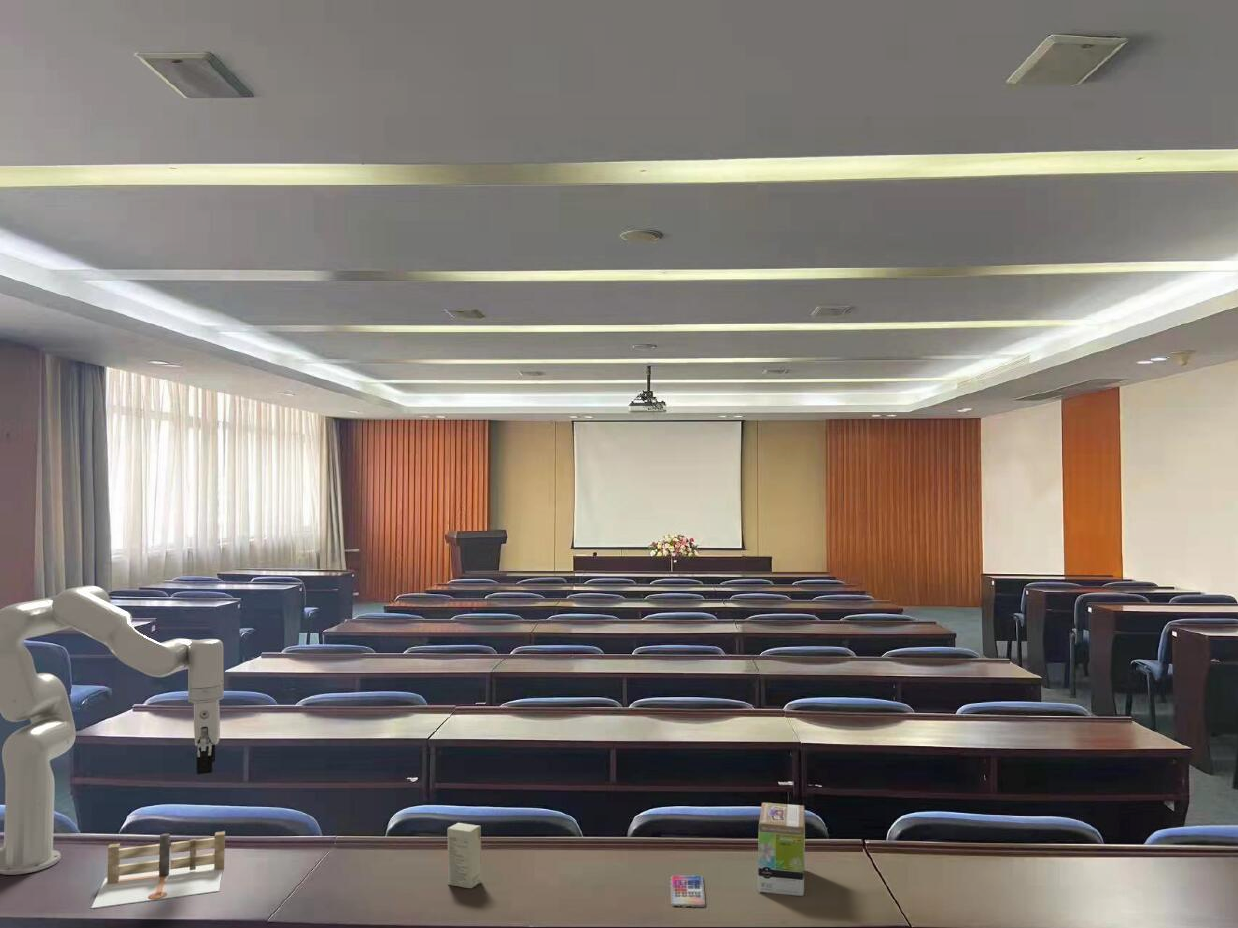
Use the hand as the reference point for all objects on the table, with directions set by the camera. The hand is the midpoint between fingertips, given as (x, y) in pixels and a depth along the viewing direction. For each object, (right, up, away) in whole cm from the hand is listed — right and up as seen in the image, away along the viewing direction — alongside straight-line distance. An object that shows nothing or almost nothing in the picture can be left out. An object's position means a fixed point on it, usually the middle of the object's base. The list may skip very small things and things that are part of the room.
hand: (206, 767), depth 211 cm
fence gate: (+1, -21, -6) cm, 22 cm away
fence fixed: (-10, -21, -11) cm, 26 cm away
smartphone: (+111, -22, -17) cm, 114 cm away
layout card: (-4, -21, -13) cm, 25 cm away
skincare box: (+62, -21, -12) cm, 67 cm away
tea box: (+132, -22, -11) cm, 134 cm away
